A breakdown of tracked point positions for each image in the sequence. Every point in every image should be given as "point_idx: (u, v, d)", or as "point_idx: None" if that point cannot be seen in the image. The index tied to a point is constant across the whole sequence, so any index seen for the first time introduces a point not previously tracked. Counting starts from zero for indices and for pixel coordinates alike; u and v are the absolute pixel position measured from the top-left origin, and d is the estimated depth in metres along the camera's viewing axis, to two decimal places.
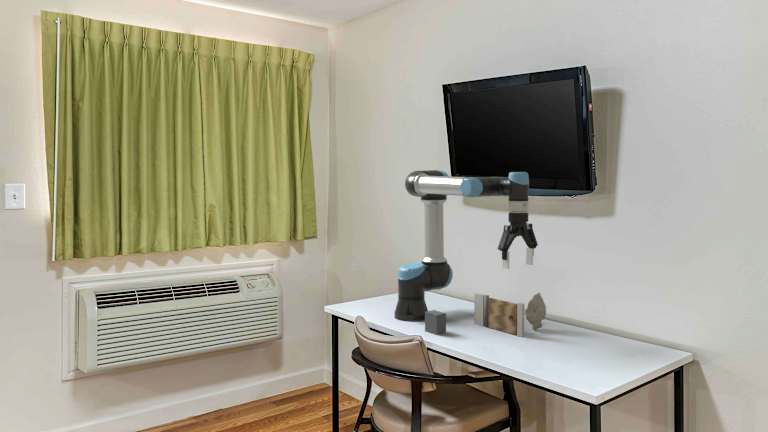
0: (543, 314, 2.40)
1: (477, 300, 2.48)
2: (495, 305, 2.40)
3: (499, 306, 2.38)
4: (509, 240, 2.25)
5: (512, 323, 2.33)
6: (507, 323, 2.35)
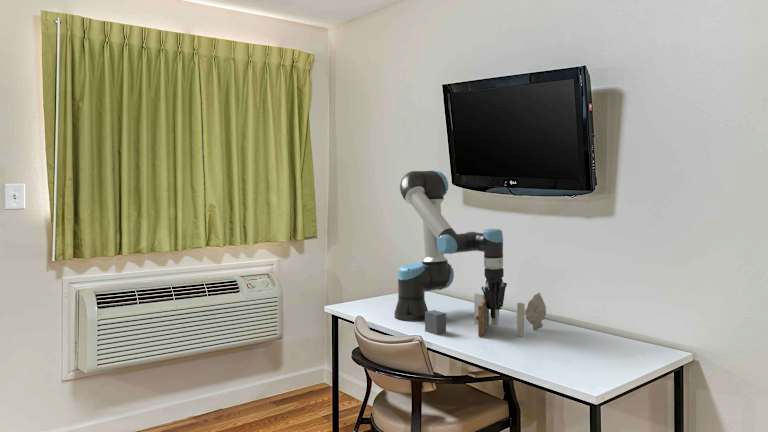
0: (543, 314, 2.40)
1: (477, 300, 2.48)
2: None
3: None
4: (492, 299, 2.37)
5: None
6: None
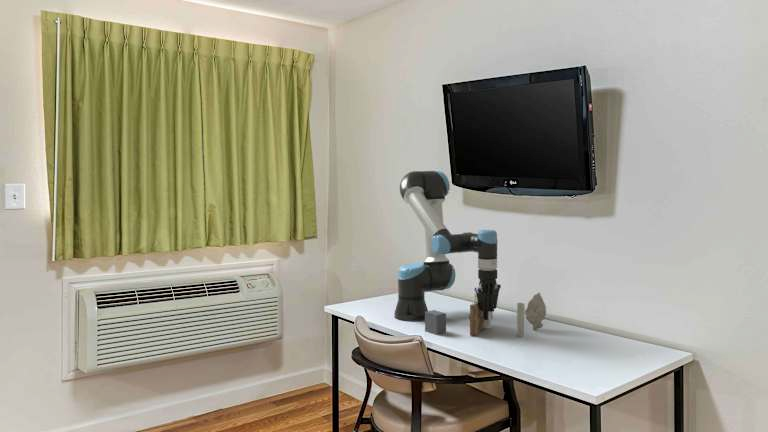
0: (543, 314, 2.40)
1: (477, 300, 2.48)
2: None
3: None
4: (485, 300, 2.35)
5: None
6: None
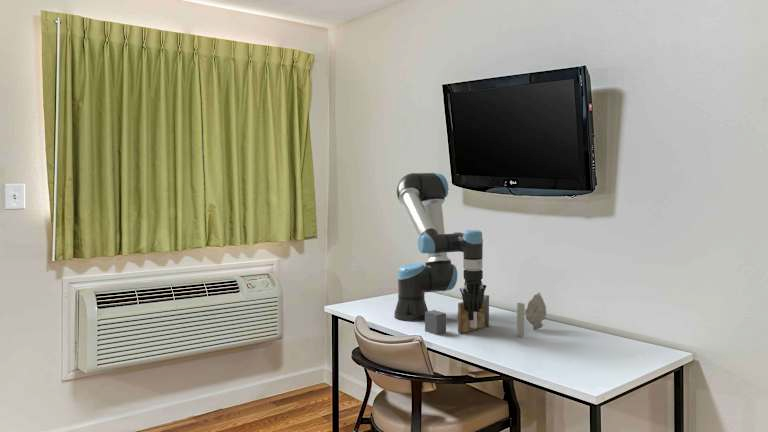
0: (543, 314, 2.40)
1: None
2: None
3: None
4: (471, 301, 2.35)
5: None
6: None
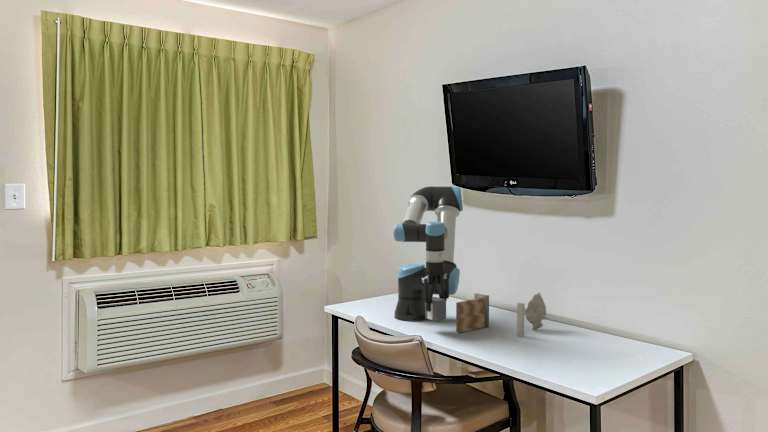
0: (543, 314, 2.40)
1: None
2: None
3: None
4: (430, 292, 2.35)
5: None
6: None
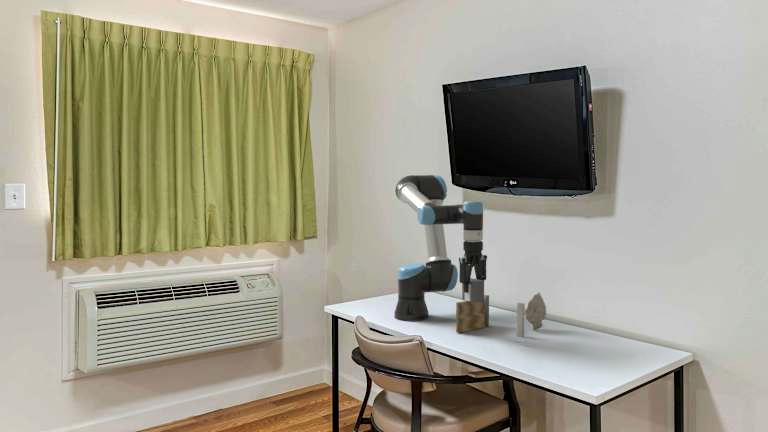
0: (543, 314, 2.40)
1: None
2: None
3: None
4: (468, 272, 2.29)
5: None
6: None
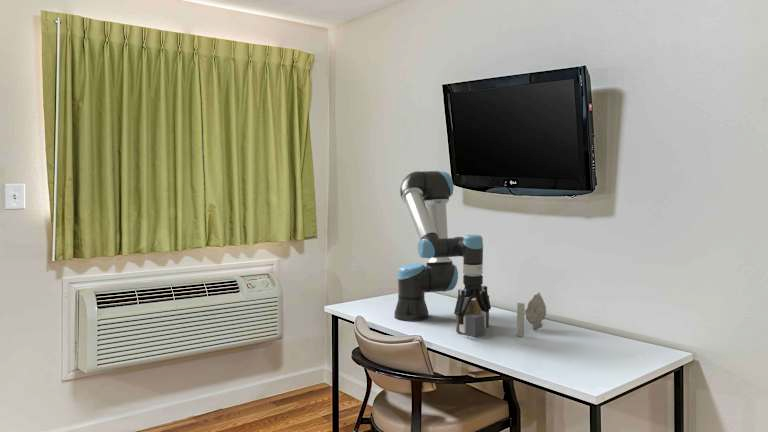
0: (543, 314, 2.40)
1: None
2: None
3: None
4: (464, 304, 2.29)
5: None
6: None
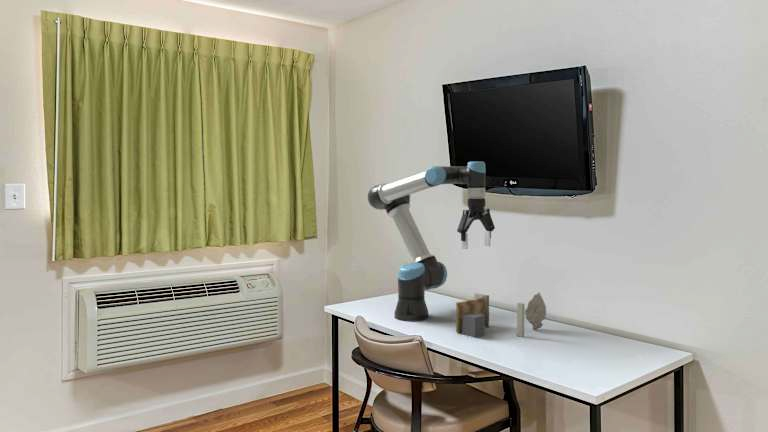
0: (543, 314, 2.40)
1: None
2: None
3: None
4: (467, 223, 2.49)
5: None
6: None
